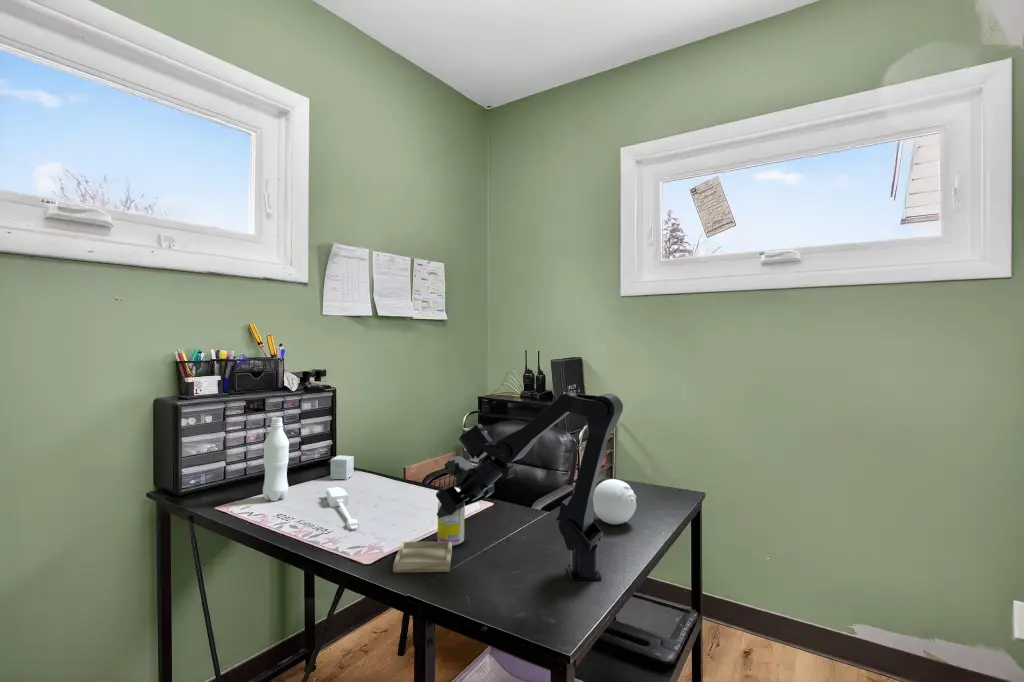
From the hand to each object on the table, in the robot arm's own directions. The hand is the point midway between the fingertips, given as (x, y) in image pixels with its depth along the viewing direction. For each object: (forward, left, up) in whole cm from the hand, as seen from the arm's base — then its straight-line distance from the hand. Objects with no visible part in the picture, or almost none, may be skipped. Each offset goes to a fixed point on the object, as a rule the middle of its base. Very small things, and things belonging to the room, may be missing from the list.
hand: (446, 511), depth 126 cm
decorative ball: (+11, -46, -7) cm, 48 cm away
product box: (+58, +40, -7) cm, 71 cm away
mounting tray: (-11, +4, -7) cm, 14 cm away
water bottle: (+34, +54, -7) cm, 64 cm away
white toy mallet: (+22, +31, -8) cm, 39 cm away
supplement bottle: (-1, -1, -7) cm, 7 cm away
